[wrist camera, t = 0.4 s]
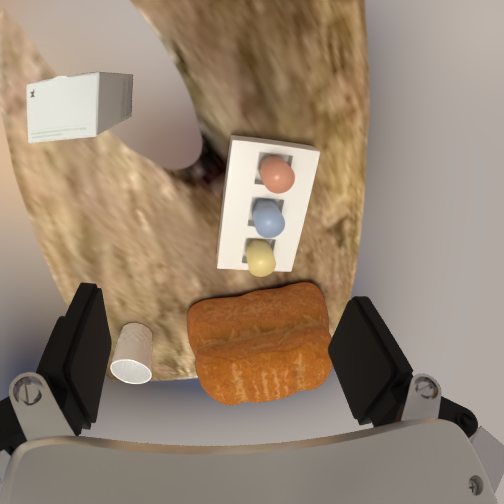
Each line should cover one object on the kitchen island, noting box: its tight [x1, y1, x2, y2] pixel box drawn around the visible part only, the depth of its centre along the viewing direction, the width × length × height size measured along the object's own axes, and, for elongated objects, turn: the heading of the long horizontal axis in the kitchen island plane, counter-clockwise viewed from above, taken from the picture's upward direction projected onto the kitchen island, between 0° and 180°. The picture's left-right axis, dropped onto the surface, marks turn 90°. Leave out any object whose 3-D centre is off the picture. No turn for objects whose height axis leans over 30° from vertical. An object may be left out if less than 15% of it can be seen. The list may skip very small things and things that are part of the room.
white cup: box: [110, 323, 153, 384], centre depth 54 cm, size 8×8×10 cm
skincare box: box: [27, 72, 133, 143], centre depth 28 cm, size 8×7×16 cm
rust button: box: [259, 155, 295, 194], centre depth 39 cm, size 4×4×4 cm
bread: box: [187, 282, 333, 405], centre depth 53 cm, size 16×26×17 cm, turn 98°
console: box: [216, 135, 320, 272], centre depth 45 cm, size 20×12×4 cm, turn 172°
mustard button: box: [245, 239, 276, 277], centre depth 46 cm, size 4×4×4 cm
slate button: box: [251, 199, 285, 238], centre depth 42 cm, size 4×4×4 cm
